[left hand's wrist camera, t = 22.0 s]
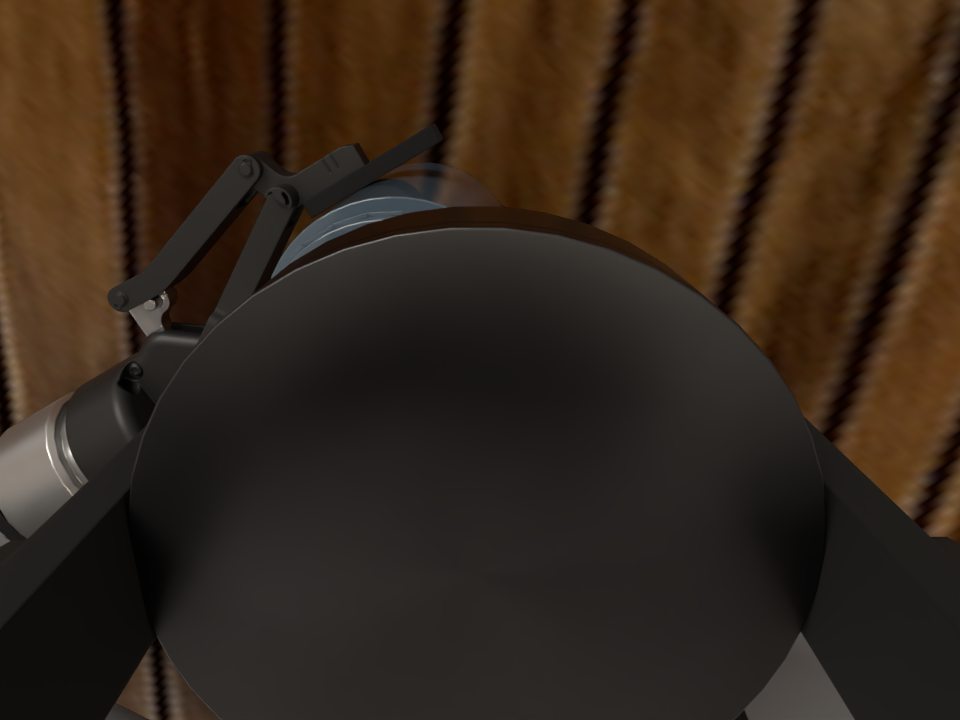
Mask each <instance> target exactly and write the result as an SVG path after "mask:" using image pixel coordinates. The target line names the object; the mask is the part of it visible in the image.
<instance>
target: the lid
mask: <svg viewBox="0 0 960 720" xmlns="http://www.w3.org/2000/svg"><path fill="white" fill-rule="evenodd" d="M826 519H827V514H826V504H825V494H824V484H823V475H822V471H821V467H820V464H819V460H818V456H817V452H816V449H815V445H814V441H813V437H812V434H811V432H810V430H809V428H808V426H807V423H806V421H805V419H804V417H803V414H802V412H801V410H800V408H799V406H798V403H797V401H796V399H795V397H794V395H793V394H792V392H791V391H790V389H789V388H788V386H787V384H786V383H785V381H784V380H783V378H782V377H781V375H780V374H779V372H778V371H777V369H776V368H775V366H774V365H773V363H772V362H771V360H770V359H769V358H768V357H767V356H766V354H765V353H764V352H763V351H762V350H761V349H760V348H759V347H758V346H757V344H756V343H755V342H754V341H753V340H752V339H751V338H750V337H749V336H748V335H747V333H746V332H745V331H744V330H743V329H742V328H741V327H740V326H739V325H738V324H737V323H736V322H735V321H733V320H732V319H731V318H730V317H729V316H727V315H726V314H725V313H724V312H723V311H721V310H720V309H719V308H718V307H717V306H715V305H714V304H713V303H712V302H711V301H710V300H708V299H707V298H706V297H705V296H704V295H702V294H701V293H700V292H699V291H698V290H696V289H695V288H694V287H693V286H691V285H690V284H689V283H688V282H687V281H685V280H684V279H683V278H682V277H680V276H679V275H678V274H677V273H676V272H674V271H673V270H672V269H671V268H669V267H668V266H667V265H666V264H665V263H663V262H661V261H660V260H658V259H656V258H655V257H653V256H651V255H650V254H648V253H646V252H645V251H643V250H641V249H640V248H638V247H636V246H635V245H633V244H631V243H630V242H628V241H626V240H623V239H621V238H619V237H616V236H614V235H612V234H609V233H607V232H605V231H602V230H600V229H598V228H595V227H593V226H591V225H588V224H585V223H581V222H578V221H574V220H570V219H567V218H563V217H559V216H556V215H552V214H549V213H545V212H537V211H530V210H523V209H515V208H508V207H500V206H454V207H447V208H439V209H432V210H424V211H417V212H410V213H406V214H402V215H399V216H395V217H391V218H388V219H384V220H380V221H377V222H373V223H370V224H366V225H364V226H362V227H359V228H357V229H355V230H352V231H350V232H348V233H345V234H343V235H340V236H338V237H336V238H333V239H331V240H329V241H327V242H325V243H323V244H322V245H320V246H318V247H317V248H315V249H313V250H312V251H310V252H308V253H307V254H305V255H303V256H302V257H300V258H298V259H297V260H295V261H293V262H292V263H290V264H289V265H288V266H286V267H285V268H284V269H283V270H282V271H280V272H279V273H278V274H277V275H275V276H274V277H273V278H272V279H271V280H269V281H268V282H267V283H266V284H264V285H263V286H262V287H261V288H259V289H258V290H257V291H256V292H255V293H253V294H252V295H251V296H250V297H248V298H247V299H246V300H245V301H244V302H242V303H241V304H240V305H239V306H237V307H236V308H235V309H234V310H233V311H231V312H230V313H229V314H228V315H226V316H225V317H224V318H223V319H222V320H220V321H219V322H218V323H217V324H215V325H214V327H213V328H212V329H211V330H210V331H209V332H208V333H207V334H206V335H205V337H204V338H203V339H202V340H201V341H200V342H199V343H198V344H197V345H196V346H195V348H194V349H193V350H192V351H191V352H190V353H189V354H188V355H187V356H186V358H185V359H184V360H183V361H182V363H181V365H180V366H179V368H178V369H177V371H176V372H175V374H174V375H173V377H172V378H171V380H170V381H169V383H168V384H167V386H166V387H165V389H164V390H163V392H162V394H161V395H160V397H159V399H158V401H157V403H156V406H155V408H154V410H153V412H152V414H151V417H150V419H149V421H148V423H147V426H146V428H145V430H144V432H143V435H142V438H141V442H140V445H139V449H138V453H137V457H136V460H135V464H134V468H133V472H132V477H131V487H130V497H129V507H128V529H129V535H130V540H131V545H132V550H133V555H134V559H135V564H136V568H137V573H138V578H139V582H140V587H141V592H142V596H143V601H144V605H145V609H146V613H147V616H148V619H149V622H150V624H151V627H152V629H153V630H154V632H155V634H156V636H157V638H158V640H159V641H160V643H161V645H162V647H163V649H164V651H165V652H166V654H167V656H168V658H169V660H170V661H171V662H172V664H173V665H174V666H175V668H176V669H177V670H178V672H179V673H180V674H181V676H182V677H183V679H184V680H185V681H186V683H187V684H188V685H189V687H190V688H191V689H192V690H193V692H194V693H195V694H196V695H197V696H198V697H199V698H200V699H201V700H202V701H203V702H204V703H205V704H206V705H207V706H208V707H209V708H210V709H211V710H212V712H213V713H214V714H215V715H216V716H217V717H218V718H220V719H221V720H734V719H735V718H737V717H738V716H739V715H740V714H741V713H742V711H743V710H744V709H745V708H746V707H747V706H748V705H749V704H750V703H751V702H752V701H753V700H754V699H755V698H756V697H757V696H758V695H759V694H760V692H761V691H762V690H763V689H764V688H765V687H766V685H767V684H768V682H769V681H770V680H771V678H772V677H773V676H774V674H775V673H776V672H777V670H778V669H779V667H780V666H781V665H782V663H783V662H784V661H785V659H786V657H787V656H788V654H789V652H790V650H791V648H792V646H793V645H794V643H795V641H796V639H797V637H798V635H799V634H800V632H801V630H802V628H803V626H804V623H805V621H806V618H807V615H808V613H809V610H810V608H811V605H812V602H813V600H814V597H815V594H816V592H817V587H818V582H819V578H820V573H821V568H822V564H823V559H824V554H825V537H826Z"/></svg>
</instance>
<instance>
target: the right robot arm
mask: <svg viewBox="0 0 960 720" xmlns="http://www.w3.org/2000/svg"><path fill="white" fill-rule="evenodd" d="M442 139H443V137H442V136H441V134H440V132H439V130H438V128H437V126H436V125H435V123H434V124H432V125H430V126H429V127H427V128H425V129H424V130H422V131H420V132H419V133H417V134H415V135H414V136H412V137H410V138H409V139H407V140H406V141H404V142H402V143H401V144H399V145H397V146H396V147H394V148H392V149H391V150H389V151H387V152H386V153H384V154H382V155H381V156H379V157H377V158H376V159H374V160H372V161H371V162H369V160H368V158H367V157H366V155H365V153H364V152H363V150H362V148H361V147H360V145H359V143H356V144H349V145H345V146H341V147H339V148H338V149H336V150H335V151H333V152H331V153H330V154H328V155H326V156H325V157H323V158H322V159H320V160H318V161H317V162H315V163H313V164H312V165H310V166H309V167H307V168H305V169H304V170H302V171H300V172H299V173H291V172H288V171H286V170H285V169H283V168H282V167H281V166H280V165H278V164H277V163H276V162H275V160H274V158H273V157H272V156H271V155H270V154H269V153H267V152H263V151H259V152H254V153H249V154H245V155H241V156H238V157H237V158H236V159H235V160H234V161H233V162H232V163H231V165H230V166H229V167H228V168H227V169H226V171H225V172H224V173H223V174H222V176H221V177H220V178H219V179H218V181H217V182H216V183H215V184H214V185H213V187H212V188H211V189H210V190H209V192H208V193H207V194H206V195H205V197H204V198H203V199H202V200H201V201H200V203H199V204H198V205H197V206H196V208H195V209H194V210H193V211H192V213H191V214H190V215H189V216H188V218H187V219H186V220H185V221H184V222H183V224H182V225H181V226H180V227H179V229H178V230H177V231H176V232H175V234H174V235H173V236H172V237H171V238H170V240H169V241H168V242H167V243H166V245H165V246H164V247H163V248H162V250H161V251H160V252H159V253H158V255H157V256H156V257H155V258H154V259H153V261H152V262H151V263H150V264H149V266H148V267H147V268H146V269H145V271H144V272H143V273H141V274H139V275H137V276H135V277H133V278H131V279H129V280H127V281H125V282H123V283H122V284H120V285H118V286H116V287H114V288H112V289H111V290H110V291H109V293H108V301H109V304H110V305H111V306H112V307H113V308H114V309H115V310H117V311H120V312H126V311H130V313H131V314H132V316H133V317H134V319H135V320H136V321H137V323H138V324H139V326H140V327H141V329H142V330H143V331H144V333H145V334H146V336H147V338H146V339H145V341H144V343H143V345H142V347H141V349H140V350H139V352H138V353H136V354H134V355H132V356H131V357H129V358H127V359H126V360H124V361H122V362H121V363H119V364H117V365H116V366H114V367H112V368H111V369H109V370H107V371H105V372H104V373H102V374H100V375H99V376H97V377H95V378H94V379H92V380H90V381H89V382H87V383H85V384H83V385H82V386H80V387H79V388H78V389H77V390H76V391H75V392H71V393H68V394H67V395H65V396H63V397H61V398H60V399H58V400H56V401H55V402H53V403H51V404H49V405H48V406H46V407H44V408H43V409H41V410H39V411H38V412H36V413H34V414H32V415H31V416H29V417H27V418H26V419H24V420H22V421H21V422H19V423H17V424H15V425H14V426H12V427H10V428H9V429H7V430H6V431H5V432H4V433H2V434H0V547H1V546H2V545H4V544H6V543H8V542H9V541H11V540H13V539H28V538H29V537H30V536H31V535H32V534H33V533H34V532H35V531H36V530H37V529H38V528H39V527H40V526H41V525H43V524H44V523H45V522H46V521H47V520H48V519H49V518H50V517H51V516H52V515H53V514H54V513H55V512H56V511H57V510H58V509H59V508H60V507H61V506H62V505H64V504H65V503H66V502H67V501H68V500H69V499H70V498H71V497H72V496H73V495H74V494H75V493H76V492H77V491H78V490H79V489H80V488H81V487H82V486H84V485H85V484H86V483H87V482H88V481H89V480H90V479H91V478H92V477H93V476H94V475H95V474H96V473H97V472H98V471H99V470H100V469H101V468H102V467H103V466H105V465H106V464H107V463H108V462H109V461H110V460H111V459H112V458H113V457H114V456H115V455H116V454H117V453H118V452H119V451H120V450H121V449H122V448H123V447H124V446H126V445H127V444H128V443H129V442H130V441H131V440H132V439H133V438H134V437H135V436H136V435H137V434H138V433H139V432H140V431H141V430H142V429H143V428H144V427H145V426H147V423H148V421H149V419H150V417H151V414H152V412H153V410H154V408H155V406H156V403H157V401H158V399H159V397H160V395H161V394H162V392H163V390H164V389H165V387H166V386H167V384H168V383H169V381H170V380H171V378H172V377H173V375H174V374H175V372H176V371H177V369H178V368H179V366H180V365H181V363H182V361H183V360H184V359H185V358H186V356H187V355H188V354H189V353H190V352H191V351H192V350H193V349H194V348H195V346H196V345H197V344H198V343H199V342H200V341H201V340H202V339H203V338H204V337H205V335H206V334H207V333H208V332H209V331H210V330H211V329H212V328H213V327H214V325H215V324H217V323H218V322H219V321H220V320H222V319H223V318H224V317H225V316H226V315H228V314H229V313H230V312H231V311H233V310H234V309H235V308H236V307H237V306H239V305H240V304H241V303H242V302H244V301H245V300H246V299H247V298H248V297H250V296H251V295H252V294H253V293H255V292H256V291H257V290H258V289H259V288H261V287H262V286H263V285H264V284H266V283H267V282H268V280H269V278H270V276H271V274H272V272H273V270H274V268H275V266H276V264H277V262H278V260H279V258H280V256H281V254H282V252H283V250H284V248H285V246H286V244H287V242H288V239H289V237H290V235H291V233H292V231H293V229H294V227H295V225H296V223H297V221H298V219H299V217H300V215H301V213H302V211H303V209H304V207H305V209H306V210H307V212H308V213H309V215H310V216H311V218H313V217H315V216H317V215H318V214H320V213H322V212H323V211H325V210H327V209H328V208H330V207H332V206H333V205H335V204H337V203H338V202H340V201H342V200H343V199H345V198H347V197H348V196H350V195H352V194H353V193H355V192H357V191H358V190H360V189H362V188H363V187H365V186H367V185H368V184H370V183H372V182H373V181H375V180H377V179H378V178H380V177H382V176H383V175H385V174H387V173H388V172H390V171H392V170H393V169H395V168H397V167H399V166H400V165H402V164H404V163H405V162H407V161H409V160H410V159H412V158H414V157H415V156H417V155H419V154H420V153H422V152H424V151H425V150H427V149H429V148H430V147H432V146H434V145H435V144H437V143H439V142H440V141H441V140H442ZM258 192H259V193H260V194H261V195H263V196H264V197H265V198H266V199H267V200H266V202H265V204H264V206H263V208H262V210H261V212H260V215H259V217H258V219H257V221H256V223H255V225H254V227H253V230H252V232H251V234H250V236H249V238H248V240H247V242H246V245H245V247H244V249H243V251H242V253H241V255H240V257H239V259H238V262H237V264H236V266H235V268H234V270H233V272H232V274H231V277H230V279H229V281H228V283H227V285H226V287H225V289H224V292H223V294H222V296H221V298H220V300H219V302H218V304H217V307H216V309H215V310H214V312H213V313H212V314H211V316H210V317H209V319H208V321H207V323H206V325H195V324H186V323H176V322H173V323H172V322H171V320H170V317H169V311H170V309H171V308H172V307H173V306H174V305H175V304H176V302H177V291H176V289H175V288H174V287H173V286H174V285H176V284H177V283H179V282H180V281H182V280H183V279H184V278H185V277H187V276H188V275H189V274H190V272H191V271H192V270H193V269H194V268H195V267H196V266H197V264H198V263H199V262H200V261H201V260H202V258H203V257H204V256H205V255H206V254H207V252H208V251H209V250H210V249H211V248H212V246H213V245H214V244H215V243H216V242H217V241H218V239H219V238H220V237H221V236H222V235H223V233H224V232H225V231H226V230H227V229H228V227H229V226H230V225H231V224H232V223H233V221H234V220H235V219H236V218H237V217H238V215H239V214H240V213H241V212H242V211H243V209H244V208H245V207H246V206H247V205H248V203H249V202H250V201H251V200H252V199H253V198H254V196H255V195H256V194H257V193H258ZM105 720H149V719H147V718H145V717H143V716H141V715H139V714H137V713H135V712H133V711H131V710H129V709H127V708H125V707H123V706H121V705H119V704H117V703H115V704H114V706H113V707H112V709H111V711H110V712H109V714H108V715H107V717H106V719H105Z"/></svg>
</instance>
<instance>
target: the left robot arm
mask: <svg viewBox="0 0 960 720" xmlns="http://www.w3.org/2000/svg"><path fill="white" fill-rule="evenodd" d="M803 417H804V416H803ZM804 419H805V421H806V423H807V426H808V428H809V430H810V432H811V434H812V437H813V441H814V445H815V449H816V452H817V456H818V460H819V464H820V467H821V471H822V475H823V484H824V494H825V504H826V514H827V519H826V537H825V554H824V559H823V564H822V568H821V573H820V578H819V582H818V587H817V592H816V594H815V597H814V600H813V602H812V605H811V608H810V610H809V613H808V615H807V618H806V621H805V623H804V626H803V628H802V630H801V632H800V634H799V635H798V637H797V639H796V641H795V643H794V645H793V646H792V648H791V650H790V652H789V654H788V656H787V657H786V659H785V661H784V662H783V663H782V665H781V666H780V667H779V669H778V670H777V672H776V673H775V674H774V676H773V677H772V678H771V680H770V681H769V682H768V684H767V685H766V687H765V688H764V689H763V690H762V691H761V692H760V694H759V695H758V696H757V697H756V698H755V699H754V700H753V701H752V702H751V703H750V704H749V705H748V706H747V707H746V708H745V709H744V710H743V711H742V713H741V714H740V715H739V716H738V717H737V718H735V719H734V720H960V544H958V543H957V542H955V541H953V540H951V539H949V538H948V537H930V536H929V535H927V534H926V533H925V532H924V531H923V530H922V529H921V528H920V527H919V526H918V525H917V524H916V523H915V522H914V521H913V520H912V519H911V518H910V517H909V516H908V515H906V514H905V513H904V512H903V511H902V510H901V509H900V508H899V507H898V506H897V505H896V504H895V503H894V502H893V501H892V500H891V499H890V498H889V497H888V496H887V495H885V494H884V493H883V492H882V491H881V490H880V489H879V488H878V487H877V486H876V485H875V484H874V483H873V482H872V481H871V480H870V479H869V478H868V477H867V476H866V475H864V474H863V473H862V472H861V471H860V470H859V469H858V468H857V467H856V466H855V465H854V464H853V463H852V462H851V461H850V460H849V459H848V458H847V457H846V456H845V455H843V454H842V453H841V452H840V451H839V450H838V449H837V448H836V447H835V446H834V445H833V444H832V443H831V442H830V441H829V440H828V439H827V438H826V437H825V436H824V435H822V434H821V433H820V432H819V431H818V430H817V429H816V428H815V427H814V426H813V425H812V424H811V423H810V422H809V421H808V420H807V419H806V418H805V417H804ZM145 428H146V426H145V427H144V428H143V429H142V430H141V431H140V432H139V433H138V434H137V435H136V436H135V437H134V438H133V439H132V440H131V441H130V442H129V443H128V444H127V445H126V446H124V447H123V448H122V449H121V450H120V451H119V452H118V453H117V454H116V455H115V456H114V457H113V458H112V459H111V460H110V461H109V462H108V463H107V464H106V465H105V466H103V467H102V468H101V469H100V470H99V471H98V472H97V473H96V474H95V475H94V476H93V477H92V478H91V479H90V480H89V481H88V482H87V483H86V484H85V485H84V486H82V487H81V488H80V489H79V490H78V491H77V492H76V493H75V494H74V495H73V496H72V497H71V498H70V499H69V500H68V501H67V502H66V503H65V504H64V505H62V506H61V507H60V508H59V509H58V510H57V511H56V512H55V513H54V514H53V515H52V516H51V517H50V518H49V519H48V520H47V521H46V522H45V523H44V524H43V525H41V526H40V527H39V528H38V529H37V530H36V531H35V532H34V533H33V534H32V535H31V536H30V537H29V538H28V539H13V540H11V541H9V542H8V543H6V544H4V545H2V546H1V547H0V720H105V719H106V717H107V715H108V714H109V712H110V711H111V709H112V707H113V706H114V704H115V702H116V701H117V699H118V697H119V696H120V694H121V693H122V691H123V689H124V688H125V686H126V684H127V683H128V681H129V680H130V678H131V676H132V675H133V673H134V671H135V670H136V668H137V666H138V665H139V663H140V662H141V660H142V658H143V657H144V655H145V653H146V652H147V650H148V649H149V647H150V645H151V644H152V642H153V640H154V639H155V637H156V634H155V632H154V630H153V629H152V627H151V624H150V622H149V619H148V616H147V613H146V609H145V605H144V601H143V596H142V592H141V587H140V582H139V578H138V573H137V568H136V564H135V559H134V555H133V550H132V545H131V540H130V535H129V529H128V507H129V497H130V487H131V477H132V472H133V468H134V464H135V460H136V457H137V453H138V449H139V445H140V442H141V438H142V435H143V432H144V430H145Z"/></svg>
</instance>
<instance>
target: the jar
mask: <svg viewBox="0 0 960 720" xmlns="http://www.w3.org/2000/svg"><path fill="white" fill-rule="evenodd" d="M454 206H500V207H503V206H502V205H501V204H500V202H499V201H498V199H497V198H496V197H495V195H494V194H493V193H492V192H491V191H490V190H489V189H488V188H487V187H486V186H485V185H483V184H482V183H481V182H480V181H478V180H477V179H475V178H474V177H472V176H471V175H469V174H467V173H465V172H463V171H461V170H459V169H456V168H453V167H450V166H446V165H442V164H436V163H413V164H406V165H402V166H399V167H397V168H395V169H393V170H392V171H390V172H388V173H387V174H385V175H383V176H382V177H380V178H378V179H377V180H375V181H373V182H372V183H370V184H368V185H367V186H365V187H363V188H362V189H360V190H358V191H357V192H355V193H353V194H352V195H350V196H349V197H347V198H346V199H344V200H343V201H342V202H340V203H339V204H338V205H336V206H335V207H333V208H332V209H331V210H329V211H328V212H326V213H325V214H324V215H322V216H321V217H319V218H318V219H317V220H315V221H314V222H313V223H312V224H310V225H309V226H308V227H307V228H305V229H304V230H303V231H302V232H301V233H300V234H299V235H298V236H297V237H296V238H295V239H294V240H293V241H292V243H291V244H290V245H289V247H288V248H287V249H286V251H285V252H284V254H283V255H282V256H281V258H280V260H279V262H278V264H277V266H276V268H275V270H274V272H273V274H272V277H271V279H272V278H273V277H274V276H275V275H277V274H278V273H279V272H280V271H282V270H283V269H284V268H285V267H286V266H288V265H289V264H290V263H292V262H293V261H295V260H297V259H298V258H300V257H302V256H303V255H305V254H307V253H308V252H310V251H312V250H313V249H315V248H317V247H318V246H320V245H322V244H323V243H325V242H327V241H329V240H331V239H333V238H336V237H338V236H340V235H343V234H345V233H348V232H350V231H352V230H355V229H357V228H359V227H362V226H364V225H366V224H370V223H373V222H377V221H380V220H384V219H388V218H391V217H395V216H399V215H402V214H406V213H410V212H417V211H424V210H432V209H439V208H447V207H454Z"/></svg>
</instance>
